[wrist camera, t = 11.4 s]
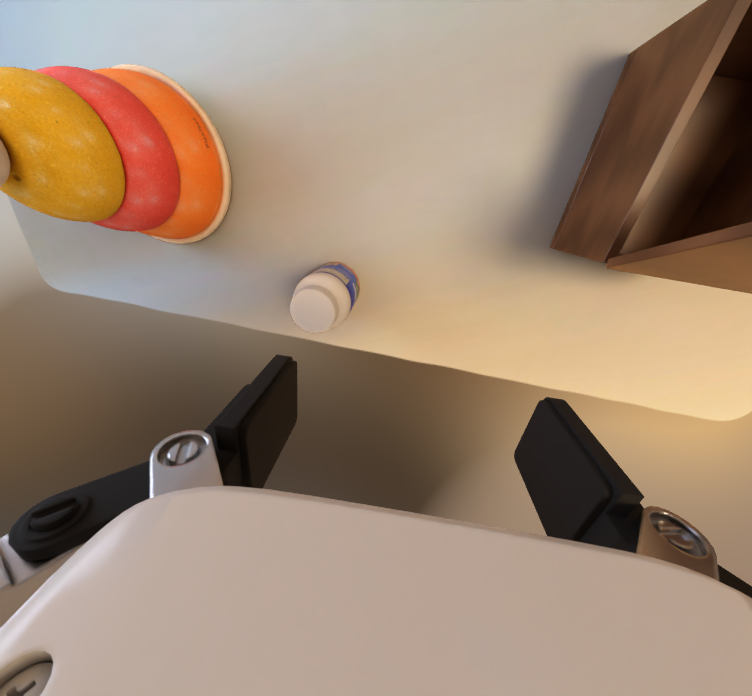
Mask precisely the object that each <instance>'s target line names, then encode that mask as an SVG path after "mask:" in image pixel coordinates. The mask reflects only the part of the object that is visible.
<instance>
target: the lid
mask: <svg viewBox="0 0 752 696" xmlns="http://www.w3.org/2000/svg"><path fill="white" fill-rule="evenodd" d="M606 268H608V269H613V270H619V271H625V272H630V273H636V274H642V275H648V276H653V277H659V278H665V279H670V280H676V281H682V282H688V283H693V284H699V285H705V286H711V287H716V288H722V289H728V290H733V291H739V292H745V293H751V294H752V222H749V223H745V224H741V225H737V226H733V227H729V228H725V229H722V230H718V231H714V232H710V233H706V234H702V235H699V236H695V237H691V238H687V239H683V240H679V241H676V242H672V243H668V244H664V245H660V246H656V247H652V248H649V249H645V250H641V251H637V252H633V253H629V254H626V255H622V256H618V257H614V258H610V259H608V262H607V265H606Z"/></svg>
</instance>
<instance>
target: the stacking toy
mask: <svg viewBox="0 0 752 696" xmlns="http://www.w3.org/2000/svg"><path fill="white" fill-rule="evenodd" d="M0 190H2V191H3V192H4V193H6V194H7V195H9V196H10V197H12V198H13V199H15V200H17V201H18V202H20V203H22V204H24V205H26V206H28V207H30V208H32V209H34V210H37V211H39V212H41V213H44V214H47V215H50V216H53V217H57V218H61V219H66V220H72V221H82V222H92V223H94V224H97V225H100V226H103V227H107V228H111V229H116V230H122V231H138V232H141V233H144V234H147V235H149V236H151V237H153V238H155V239H158V240H161V241H164V242H168V243H176V244H186V243H192V242H196V241H198V240H201V239H203V238H205V237H207V236H208V235H210V234H211V233H212V232H213V231H214V230H215V229H216V228H217V227H218V226H219V225H220V223H221V222H222V220H223V219H224V217H225V215H226V212H227V210H228V206H229V202H230V197H231V172H230V166H229V161H228V157H227V154H226V150H225V148H224V145H223V142H222V140H221V138H220V135H219V133H218V132H217V130H216V128H215V126H214V124H213V123H212V121H211V119H210V118H209V116H208V115H207V113H206V112H205V111H204V109H203V108H202V107H201V106H200V104H199V103H198V102H197V101H196V100H195V99H194V98H193V97H192V95H191V94H190V93H189V92H187V91H186V90H185V89H184V88H183V87H182V86H180V85H179V84H178V83H177V82H175V81H174V80H172V79H171V78H169V77H168V76H166V75H164V74H163V73H161V72H159V71H156V70H154V69H152V68H148V67H145V66H141V65H135V64H123V65H117V66H113V67H110V68H104V69H97V70H92V71H90V70H87V69H82V68H78V67H69V66H54V67H47V68H42V69H37V70H35V71H33V70H28V69H23V68H16V67H0Z"/></svg>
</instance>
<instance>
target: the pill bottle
mask: <svg viewBox="0 0 752 696" xmlns="http://www.w3.org/2000/svg"><path fill="white" fill-rule="evenodd" d="M359 292H360V283H359V279H358V277H357V275H356V273H355V272H354V271H353V270H352V269H351V268H350V267H349V266H347V265H345V264H343V263H339V262H331V263H327V264H325V265H323V266H322V267H320V268H319V269H317V270H316V271H314V272H313V273H311V274H309V275H308V276H306V277H305V278H304V279H302V280H301V281H300V282H299V283H298V285H297V287H296V289H295V291H294V296H293V298H292V300H291V303H290V313H291V317H292V319H293V321H294V322H295V324H296V325H297V326H298V327H299V328H301V329H302V330H304V331H306V332H309V333H322V332H324V331H326V330H328V329H332V328H335V327H337V326H339V325H340V324H341V323H342V322H343V321H344V320H345V319H346V317H347V316H348V314H349V312H350V311H351V309H352V307H353V305H354V304H355V302H356V300H357V298H358V295H359Z"/></svg>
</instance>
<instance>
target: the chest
mask: <svg viewBox="0 0 752 696" xmlns="http://www.w3.org/2000/svg"><path fill="white" fill-rule="evenodd" d="M749 222H752V0H707V1H706V2H704V3H703V4H701V5H700V6H698V7H697V8H695V9H694V10H692V11H691V12H690V13H688V14H687V15H685V16H684V17H682V18H681V19H679V20H678V21H676V22H675V23H673V24H672V25H671V26H669V27H668V28H666V29H665V30H663V31H662V32H660V33H659V34H657V35H656V36H655V37H653V38H652V39H650V40H649V41H647V42H646V43H644V44H643V45H641V46H640V47H638V48H637V49H636V50H634V51H633V52H631V53H630V55H629V57H628V59H627V62H626V64H625V67H624V69H623V72H622V74H621V76H620V79H619V81H618V84H617V86H616V88H615V91H614V93H613V96H612V98H611V100H610V103H609V105H608V108H607V110H606V113H605V115H604V117H603V120H602V122H601V125H600V127H599V129H598V132H597V134H596V137H595V139H594V141H593V144H592V146H591V149H590V151H589V154H588V156H587V158H586V161H585V163H584V166H583V168H582V170H581V173H580V175H579V178H578V180H577V182H576V185H575V187H574V190H573V192H572V195H571V197H570V199H569V202H568V204H567V207H566V209H565V211H564V214H563V216H562V219H561V221H560V223H559V226H558V228H557V231H556V233H555V236H554V238H553V240H552V243H551V245H550V248H554V249H557V250H561V251H564V252H568V253H571V254H575V255H578V256H582V257H585V258H589V259H592V260H596V261H599V262H603V263H607V262H608V259H610V258H614V257H618V256H622V255H626V254H629V253H633V252H637V251H641V250H645V249H649V248H652V247H656V246H660V245H664V244H668V243H672V242H676V241H679V240H683V239H687V238H691V237H695V236H699V235H702V234H706V233H710V232H714V231H718V230H722V229H725V228H729V227H733V226H737V225H741V224H745V223H749Z"/></svg>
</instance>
